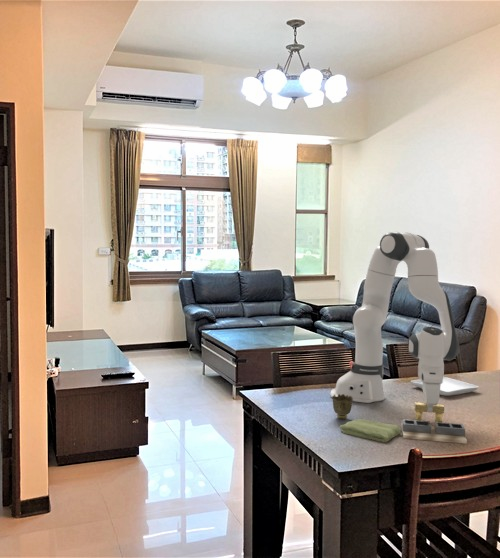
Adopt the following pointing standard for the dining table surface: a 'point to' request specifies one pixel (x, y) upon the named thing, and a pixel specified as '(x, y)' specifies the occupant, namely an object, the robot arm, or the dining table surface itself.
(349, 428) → the washcloth
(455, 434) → the chain ends
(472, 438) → the dining table surface
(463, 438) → the chain board
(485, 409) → the dining table surface
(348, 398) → the cup
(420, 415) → the tan bar
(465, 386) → the salad plate
